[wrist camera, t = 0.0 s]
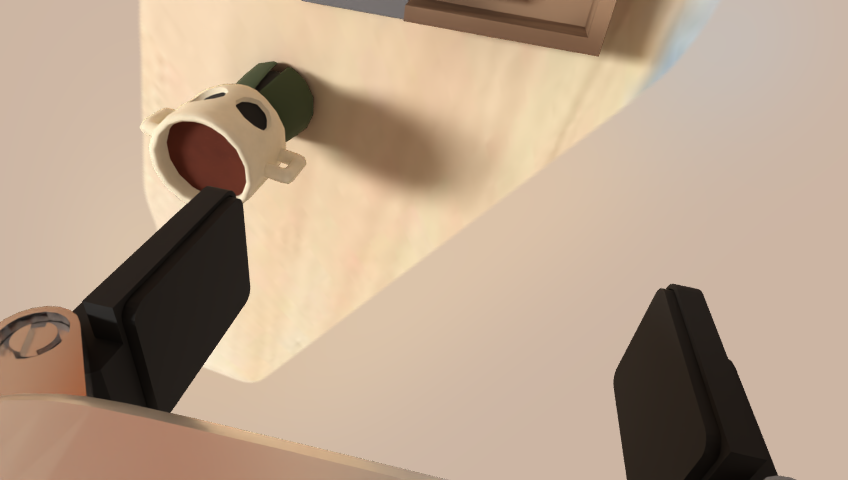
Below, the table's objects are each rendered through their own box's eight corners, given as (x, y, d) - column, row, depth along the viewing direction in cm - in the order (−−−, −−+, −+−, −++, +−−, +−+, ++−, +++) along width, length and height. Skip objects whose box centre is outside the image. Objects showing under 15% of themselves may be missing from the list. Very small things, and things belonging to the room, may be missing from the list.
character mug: (351, 79, 42) (288, 148, 32) (334, 155, 46) (274, 237, 36) (221, 33, 42) (115, 86, 31) (217, 113, 46) (121, 183, 36)
